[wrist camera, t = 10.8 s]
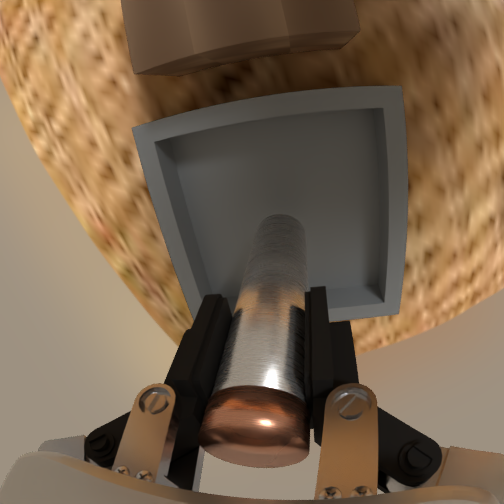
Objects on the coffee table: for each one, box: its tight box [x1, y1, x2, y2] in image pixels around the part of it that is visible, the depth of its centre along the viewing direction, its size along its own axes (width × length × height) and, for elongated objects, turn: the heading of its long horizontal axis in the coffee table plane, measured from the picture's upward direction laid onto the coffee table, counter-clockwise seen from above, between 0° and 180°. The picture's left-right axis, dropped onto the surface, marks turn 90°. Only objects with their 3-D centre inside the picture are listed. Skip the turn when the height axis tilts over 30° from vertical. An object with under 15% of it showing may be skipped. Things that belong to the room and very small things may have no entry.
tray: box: [132, 86, 408, 322], centre depth 19 cm, size 15×15×3 cm
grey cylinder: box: [198, 214, 311, 468], centre depth 12 cm, size 3×3×12 cm
